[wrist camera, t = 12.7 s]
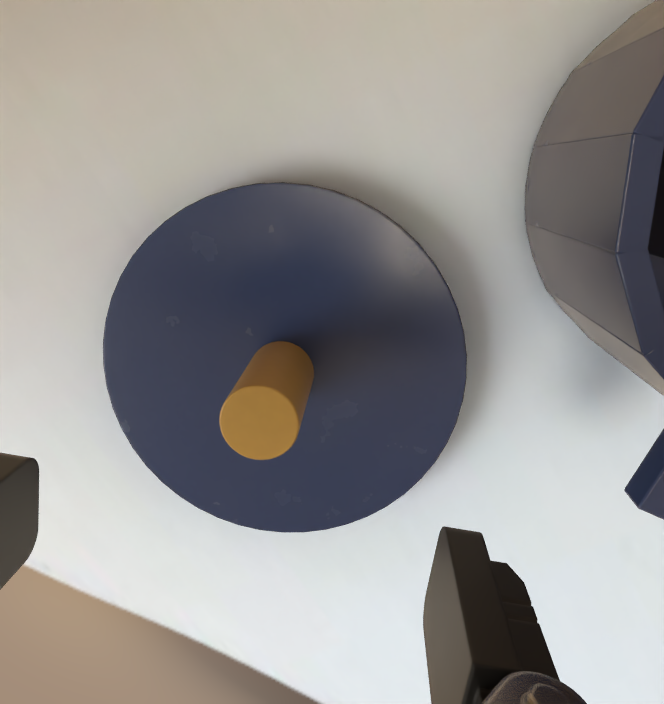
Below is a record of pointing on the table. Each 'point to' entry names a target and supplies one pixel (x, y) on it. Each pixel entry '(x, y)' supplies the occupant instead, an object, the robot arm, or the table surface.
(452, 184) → the table surface
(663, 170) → the block
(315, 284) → the lid
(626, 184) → the pot
